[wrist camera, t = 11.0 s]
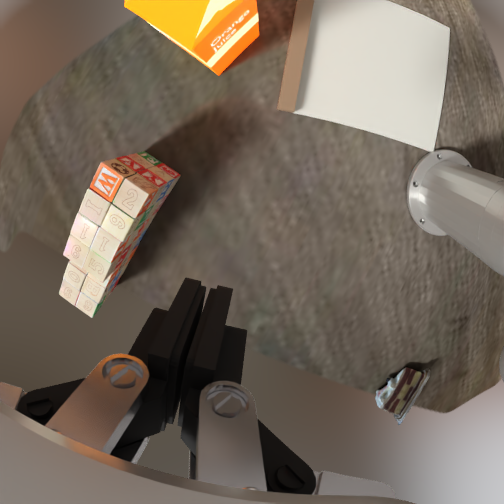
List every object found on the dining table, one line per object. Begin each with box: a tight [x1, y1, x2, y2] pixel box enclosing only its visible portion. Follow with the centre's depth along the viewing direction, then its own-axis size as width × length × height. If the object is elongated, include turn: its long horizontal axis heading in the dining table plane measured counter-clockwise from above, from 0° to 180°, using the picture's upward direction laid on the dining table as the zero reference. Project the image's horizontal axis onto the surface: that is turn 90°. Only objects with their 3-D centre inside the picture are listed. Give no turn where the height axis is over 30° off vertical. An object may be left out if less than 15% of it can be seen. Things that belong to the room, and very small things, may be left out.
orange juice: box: [124, 0, 259, 75], centre depth 23 cm, size 8×9×20 cm
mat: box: [277, 0, 450, 152], centre depth 31 cm, size 22×20×2 cm
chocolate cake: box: [376, 367, 430, 425], centre depth 51 cm, size 10×7×12 cm
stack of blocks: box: [59, 151, 181, 317], centre depth 37 cm, size 21×6×12 cm, turn 144°
